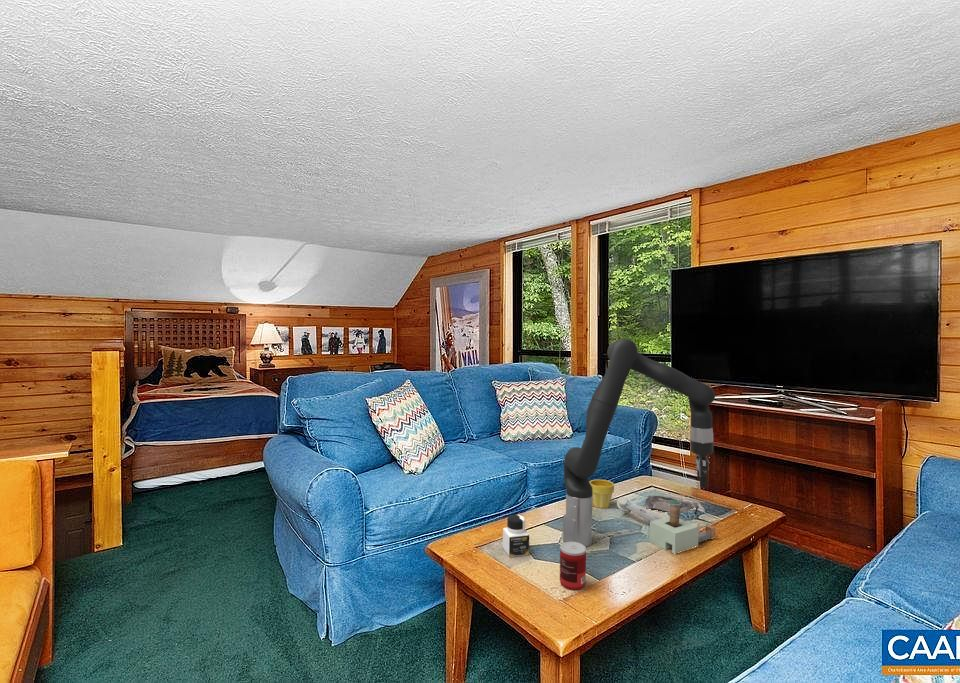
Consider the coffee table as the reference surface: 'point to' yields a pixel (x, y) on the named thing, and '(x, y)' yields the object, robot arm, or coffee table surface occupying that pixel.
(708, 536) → the pin
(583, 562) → the canned food
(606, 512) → the coffee table surface
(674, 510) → the dowel
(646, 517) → the white handheld tool
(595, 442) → the robot arm
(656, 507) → the terrain model
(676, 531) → the dock
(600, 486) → the plant pot
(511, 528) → the medicine bottle
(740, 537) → the coffee table surface
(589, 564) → the coffee table surface
